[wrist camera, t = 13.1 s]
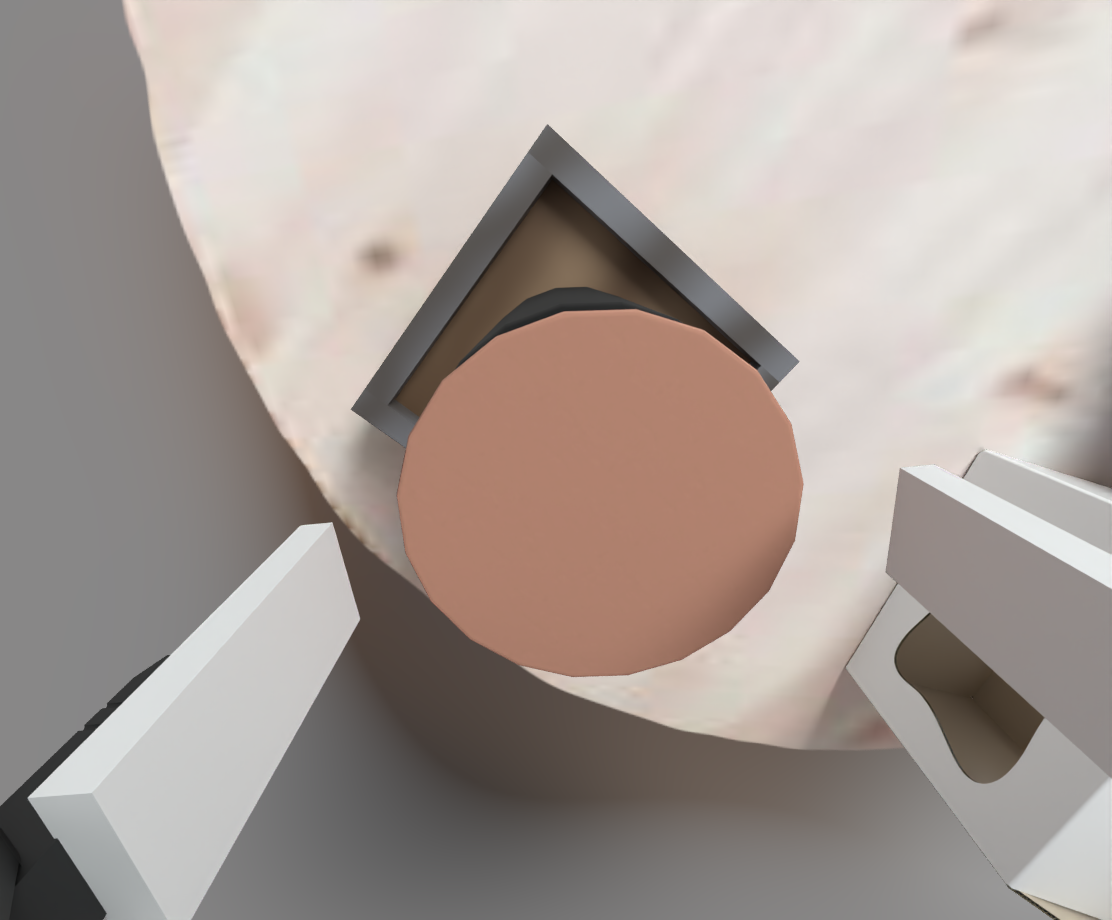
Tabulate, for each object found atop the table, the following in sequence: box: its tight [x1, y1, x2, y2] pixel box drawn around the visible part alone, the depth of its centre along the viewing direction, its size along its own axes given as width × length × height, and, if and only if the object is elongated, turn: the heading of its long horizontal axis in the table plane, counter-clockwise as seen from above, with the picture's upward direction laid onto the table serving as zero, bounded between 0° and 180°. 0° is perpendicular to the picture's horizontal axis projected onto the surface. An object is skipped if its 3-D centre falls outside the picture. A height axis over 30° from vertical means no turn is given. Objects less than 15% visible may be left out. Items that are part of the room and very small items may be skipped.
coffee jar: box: [397, 287, 803, 677], centre depth 22 cm, size 11×11×18 cm
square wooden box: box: [351, 124, 799, 448], centre depth 32 cm, size 18×18×8 cm
